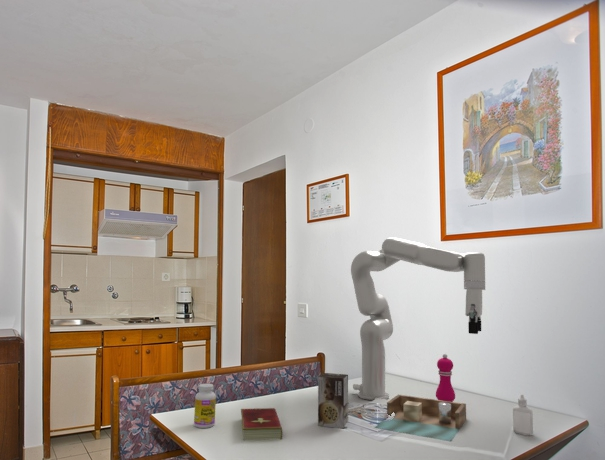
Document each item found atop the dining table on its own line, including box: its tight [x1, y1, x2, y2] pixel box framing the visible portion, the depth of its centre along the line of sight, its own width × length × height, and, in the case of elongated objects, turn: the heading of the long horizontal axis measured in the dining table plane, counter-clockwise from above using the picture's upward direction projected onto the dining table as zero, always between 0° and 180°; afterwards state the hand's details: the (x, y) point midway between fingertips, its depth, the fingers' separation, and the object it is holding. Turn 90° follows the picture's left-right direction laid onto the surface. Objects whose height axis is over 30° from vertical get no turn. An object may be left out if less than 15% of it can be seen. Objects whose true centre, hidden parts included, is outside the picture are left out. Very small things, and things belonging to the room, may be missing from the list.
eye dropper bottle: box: [512, 394, 534, 436], centre depth 152 cm, size 4×6×12 cm
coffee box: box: [317, 372, 349, 430], centre depth 158 cm, size 9×6×16 cm
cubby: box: [374, 394, 467, 442], centre depth 157 cm, size 24×26×6 cm
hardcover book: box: [240, 407, 284, 441], centre depth 152 cm, size 12×21×4 cm, turn 9°
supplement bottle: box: [193, 383, 217, 429], centre depth 154 cm, size 7×7×13 cm
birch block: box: [403, 401, 422, 421], centre depth 162 cm, size 5×5×5 cm
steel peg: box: [439, 402, 451, 424], centre depth 158 cm, size 4×4×6 cm
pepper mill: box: [435, 353, 456, 402], centre depth 181 cm, size 7×7×20 cm
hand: (475, 332), depth 174 cm, fingers open, 9 cm apart
